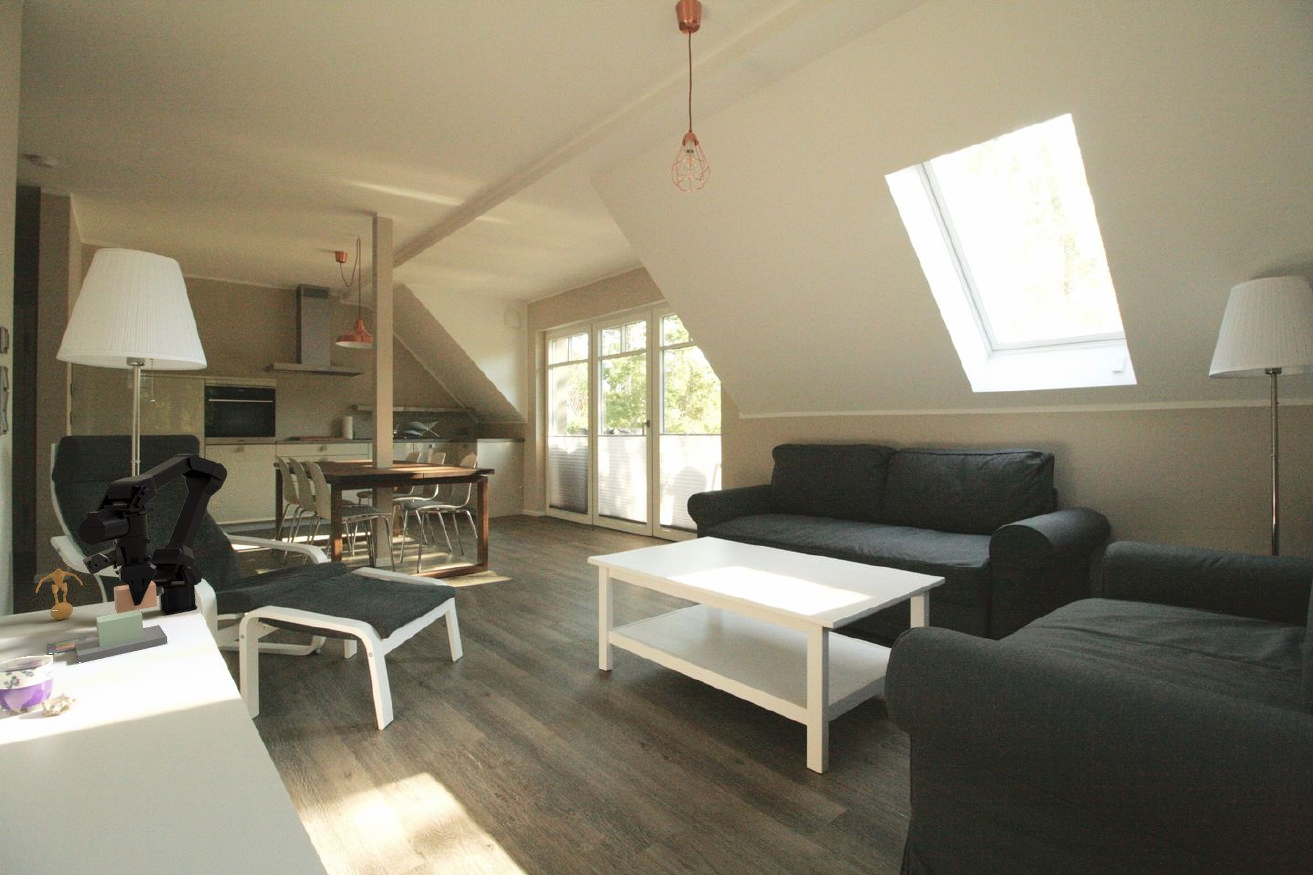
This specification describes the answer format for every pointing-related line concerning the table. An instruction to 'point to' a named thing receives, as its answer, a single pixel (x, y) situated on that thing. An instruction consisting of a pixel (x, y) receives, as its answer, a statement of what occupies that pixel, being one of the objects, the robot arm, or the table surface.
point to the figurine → (64, 607)
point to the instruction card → (63, 645)
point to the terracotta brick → (126, 603)
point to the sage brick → (119, 627)
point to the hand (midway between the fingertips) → (135, 602)
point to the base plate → (119, 645)
